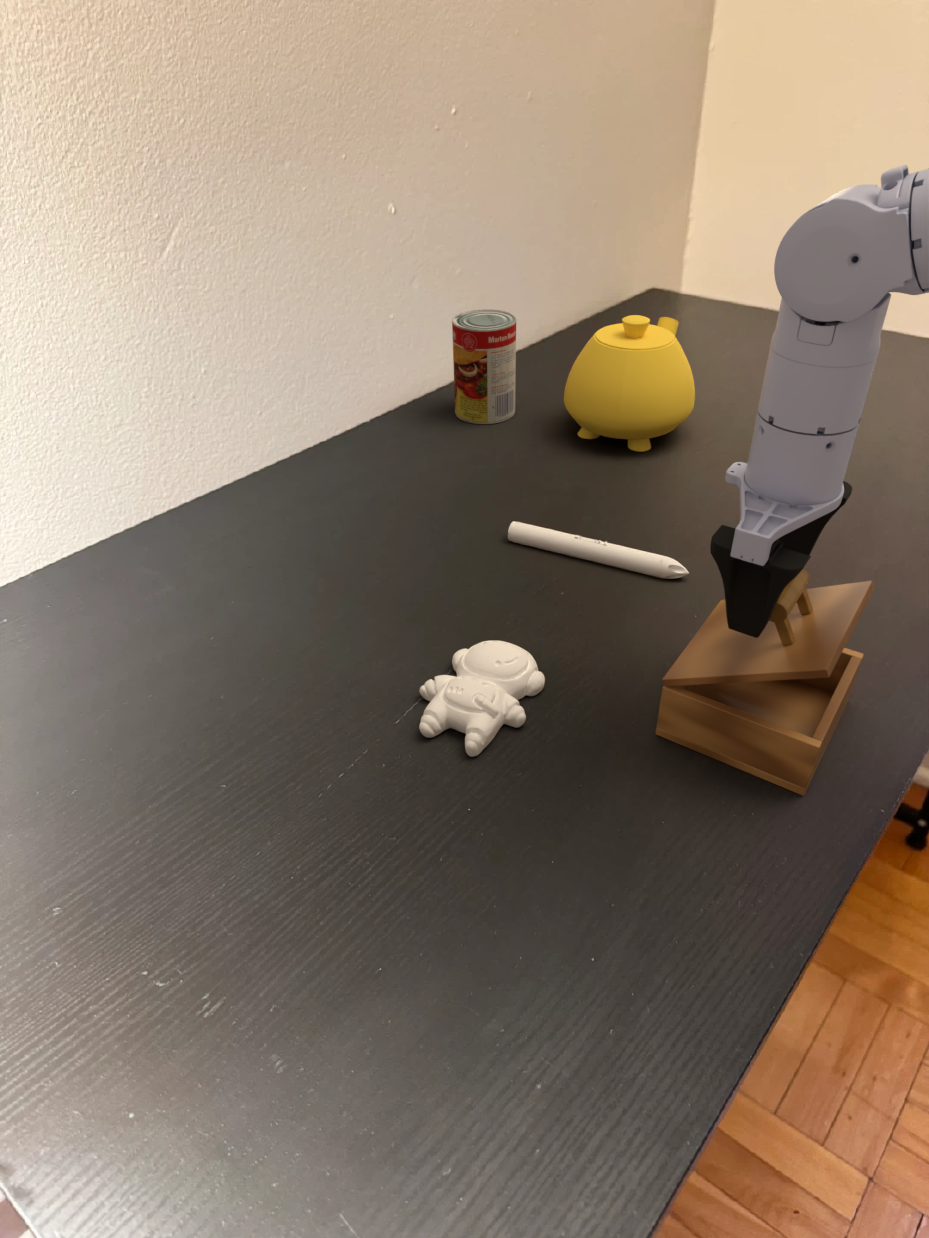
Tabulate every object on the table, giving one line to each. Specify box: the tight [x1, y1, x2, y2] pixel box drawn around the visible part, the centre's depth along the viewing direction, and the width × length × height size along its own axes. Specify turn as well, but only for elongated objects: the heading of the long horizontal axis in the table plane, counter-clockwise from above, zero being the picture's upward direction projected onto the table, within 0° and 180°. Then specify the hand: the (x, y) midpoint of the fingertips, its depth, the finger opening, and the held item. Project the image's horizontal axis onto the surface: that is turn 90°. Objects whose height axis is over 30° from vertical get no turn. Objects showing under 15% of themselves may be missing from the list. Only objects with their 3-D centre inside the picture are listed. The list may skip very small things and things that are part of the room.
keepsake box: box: [654, 647, 865, 797], centre depth 62 cm, size 11×11×5 cm
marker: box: [507, 520, 690, 580], centre depth 81 cm, size 18×2×2 cm, turn 63°
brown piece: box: [661, 568, 876, 686], centre depth 59 cm, size 12×11×4 cm
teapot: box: [563, 314, 696, 452], centre depth 102 cm, size 20×16×14 cm
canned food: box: [451, 308, 517, 425], centre depth 106 cm, size 8×8×12 cm
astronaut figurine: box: [418, 639, 546, 758], centre depth 65 cm, size 9×12×3 cm
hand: (763, 601), depth 58 cm, fingers open, 7 cm apart
